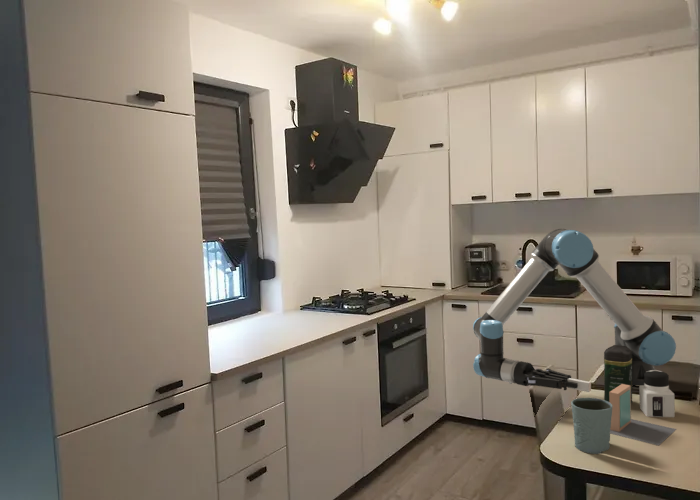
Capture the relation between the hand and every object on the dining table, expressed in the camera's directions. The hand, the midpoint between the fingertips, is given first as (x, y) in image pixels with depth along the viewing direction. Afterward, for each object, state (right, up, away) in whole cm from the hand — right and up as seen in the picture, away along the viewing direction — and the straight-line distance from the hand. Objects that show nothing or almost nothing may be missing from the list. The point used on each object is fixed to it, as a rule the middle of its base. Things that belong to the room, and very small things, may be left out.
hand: (589, 387), depth 172 cm
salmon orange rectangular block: (+7, -10, -5) cm, 13 cm away
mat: (+10, -11, -9) cm, 17 cm away
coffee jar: (+15, -9, +14) cm, 22 cm away
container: (+22, -9, +4) cm, 24 cm away
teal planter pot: (-6, -12, -16) cm, 21 cm away
